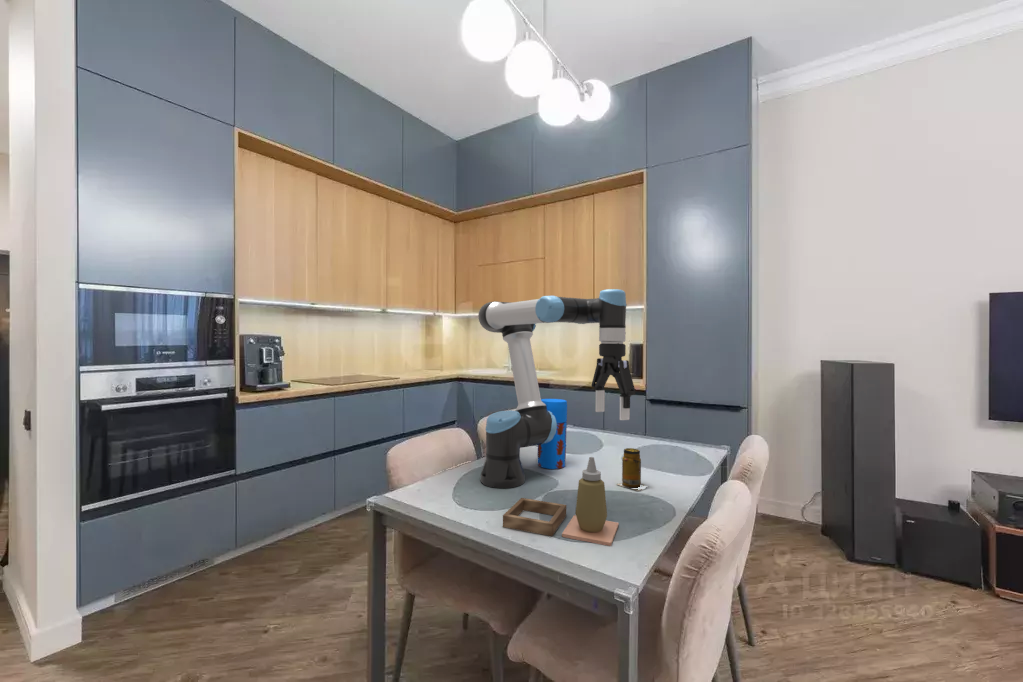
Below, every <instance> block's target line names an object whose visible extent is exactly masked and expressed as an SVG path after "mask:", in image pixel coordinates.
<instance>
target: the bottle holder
mask: <svg viewBox="0 0 1023 682" xmlns="http://www.w3.org/2000/svg"><path fill="white" fill-rule="evenodd" d="M524 511H527V512H532V513H537V514H543V515H549V516H552V517H551V518H550V520H549V521H547V520H543V519H537V518H531V517H525V516H520V515H521V514H522V512H524ZM566 517H567V504H563V503H556V502H550V501H543V500H538V499H532V498H527V497H526V498H525V497H520V498H519V499H518V500H517V501H516V502H515V503H514V504H513V505H512V506H511V507H510V508H509V509H508V510H507V511H505V513H503V515H502V527H503V528H506V529H507V528H508V529H513V530H516V531H517V530H518V531H521V532H522V531H523V532H528V533H533V534H537V535H543V536H548V537H553V536H554V534H555V533H556V532H557V530H558V528H559V527H560V526H561V524H562V523H563V522H564V520H565V519H566Z"/></svg>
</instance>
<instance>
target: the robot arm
mask: <svg viewBox="0 0 1023 682" xmlns="http://www.w3.org/2000/svg"><path fill="white" fill-rule="evenodd" d="M626 314H627V297H626V292H625V291H624V290H623V289H617V288H615V289H614V288H612V289H611V288H610V289H603V290H600V291H599V297H596V298H581V297H579V298H578V297H565V296H564V297H563V296H556V295H542V296H541V297H540V298H536V299H530V300H529V299H528V300H522V301H514V302H509V301H508V302H507V301H489V302H486V303H485V304H483V305H482V306H481V308H480V309H479V311H478V317H477V318H478V319H477V320H478V322H479V324H480V326H481V327H482V328H483V329H484V330H485V331H487V332H491V333H495V334H496V333H499V334H500V333H501V335H502V339H503V341H504V342H506V343H507V347H508V352H509V357H510V363H511V364H510V365H511V370H512V377H513V381H514V386H515V387H514V388H515V393H516V399H517V407H516V408H515V410H500V411H497V412H493V413H491V414H489V415H488V416H487V418H486V421H485V422H486V424H485V425H486V426H485V460H484V464H483V466H482V470H481V473H480V483H481V482H482V483H483V484H482V483H481V484H482V485H484V486H486V487H489V488H495V489H496V488H497V489H511V488H517V487H520V486H522V485H523V484H524V483H525V479H526V475H525V471H524V468H523V464H522V461H521V457H520V456H521V449H523V448H528V447H533V446H538V445H542V444H544V443H548V442H550V441H551V440H552V439H553V437H554V435H555V433H556V429H557V423H556V419H555V416H554V415H553V414H552V412H550V411H547V406H546V404H544V403H543V402H542V401H541V399H542V398H541V392H540V387H539V382H538V376H537V371H536V366H535V360H534V354H533V349H532V343H531V338H532V336H533V335H534V331H535V329H536V328H537V327H536V326H537V324H549V323H567V324H569V323H571V324H577V325H585V324H597V323H598V325H599V326H598V328H599V329H598V331H599V332H598V335H599V336H598V341H599V342H600V343H599V345H598V355H599V356H600V357H602V358H599V357H598V358H596V366H595V370H594V374H593V378H592V381H591V388H594V390H595V413H603V412H604V413H605V410H606V409H605V407H606V406H605V401H606V400H605V399H606V398H605V395H606V393H605V390H606V388H605V386H606V385H607V384H606V383H608V382H607V381H608V380H609V378H610V376H612V377H613V378H614V380H615V382H616V385H617V387H618V389H619V392H620V395H619V421H630V417H631V415H630V412H631V410H630V408H631V397H632V396H635V395H636V389H635V384H634V381H633V377H632V374H631V369H630V361H629V360H628V359H627V360H625V359H624V360H622V359H623V358H624V357H626V352H627V350H626V344H625V343H624V342H626V333H627V332H626V327H627V326H626V320H627V319H626V318H627V317H626V316H627V315H626Z"/></svg>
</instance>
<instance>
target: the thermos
mask: <svg viewBox="0 0 1023 682" xmlns="http://www.w3.org/2000/svg"><path fill="white" fill-rule="evenodd" d="M541 401H542V402H543V403H544V404H546V406H547V411H550V412H552V414H553V415H554V416H555V419H556V423H557V429H556V433H555V435H554V437H553V439H552V440H551V441H550V442H548V443H544V444H542V445H537V466H539V467H540V468H543V469H548V470H549V469H550V470H560V469H563V468H565V467H566V460H567V459H566V457H567V455H566V453H567V426H568V424H567V421H568V420H567V419H568V401H567V399H566V400H565V399H560V398H541Z"/></svg>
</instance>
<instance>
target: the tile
mask: <svg viewBox="0 0 1023 682" xmlns="http://www.w3.org/2000/svg"><path fill="white" fill-rule="evenodd" d="M619 523H620V522H617V521H609V520H606V521H605V524H604V527H603V529H602V530H601V531H599V532H587V531H584V530H582V529H581V528H580V527H579V524H578V520H577V517H576V514H575V515H574V514H573V516H572V518H571V519H570V520H569V522H568V523H567V525H566V527H565V528H564V530H563V531H562V533H561V537H562V538H565V539H572V540H575V541H576V540H577V541H582V542H585V543H586V542H588V543H593V544H598V545H604V546H609V547H612V544H613V541H614V539H615V537H616V535H617V534H616V533H617V531H618V529H619V525H620V524H619Z"/></svg>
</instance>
